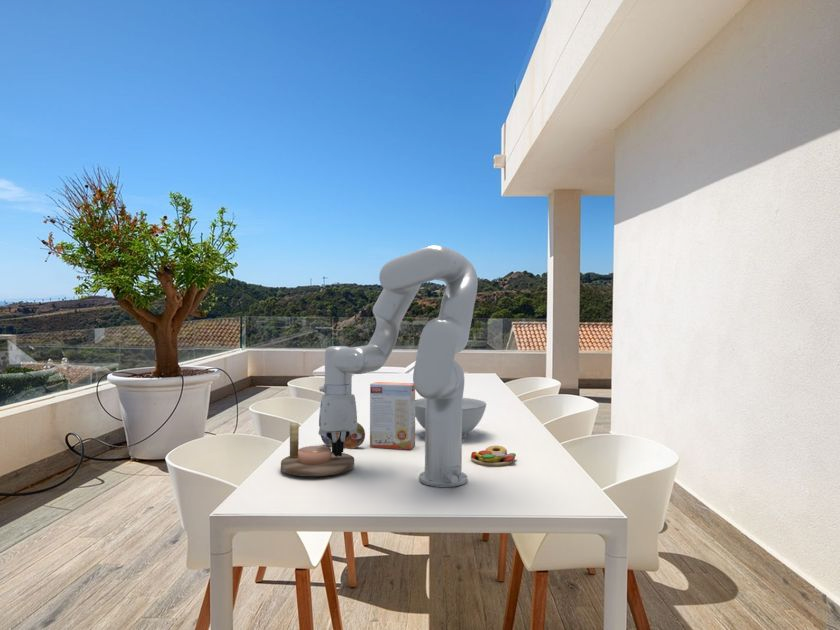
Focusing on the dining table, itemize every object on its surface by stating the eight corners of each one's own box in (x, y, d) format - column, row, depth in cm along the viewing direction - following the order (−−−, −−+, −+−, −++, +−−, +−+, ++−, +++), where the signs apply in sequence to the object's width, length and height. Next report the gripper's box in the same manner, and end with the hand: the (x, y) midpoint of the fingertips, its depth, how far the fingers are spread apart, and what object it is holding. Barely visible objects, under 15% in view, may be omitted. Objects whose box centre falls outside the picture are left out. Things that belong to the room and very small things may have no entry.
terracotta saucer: (334, 463, 145) (334, 451, 145) (300, 466, 142) (300, 454, 142) (327, 455, 154) (327, 444, 154) (295, 457, 151) (295, 447, 151)
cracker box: (415, 446, 176) (416, 382, 176) (410, 450, 170) (411, 384, 170) (375, 443, 180) (375, 381, 180) (369, 447, 174) (369, 383, 174)
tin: (320, 446, 175) (320, 420, 175) (324, 444, 178) (324, 418, 178) (362, 450, 171) (362, 423, 171) (366, 447, 174) (366, 421, 174)
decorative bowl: (430, 426, 209) (430, 395, 209) (495, 432, 198) (496, 400, 198) (397, 439, 185) (397, 404, 185) (470, 448, 173) (470, 411, 174)
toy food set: (499, 454, 167) (499, 443, 167) (525, 464, 155) (525, 453, 155) (462, 459, 161) (462, 448, 161) (486, 470, 149) (487, 458, 149)
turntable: (363, 471, 143) (363, 430, 143) (286, 479, 135) (287, 436, 135) (344, 453, 161) (344, 417, 162) (276, 460, 154) (276, 421, 154)
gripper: (314, 393, 144) (313, 461, 144) (367, 390, 150) (366, 456, 150) (308, 389, 151) (308, 454, 151) (360, 387, 157) (359, 450, 157)
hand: (337, 455), depth 151 cm, fingers closed
